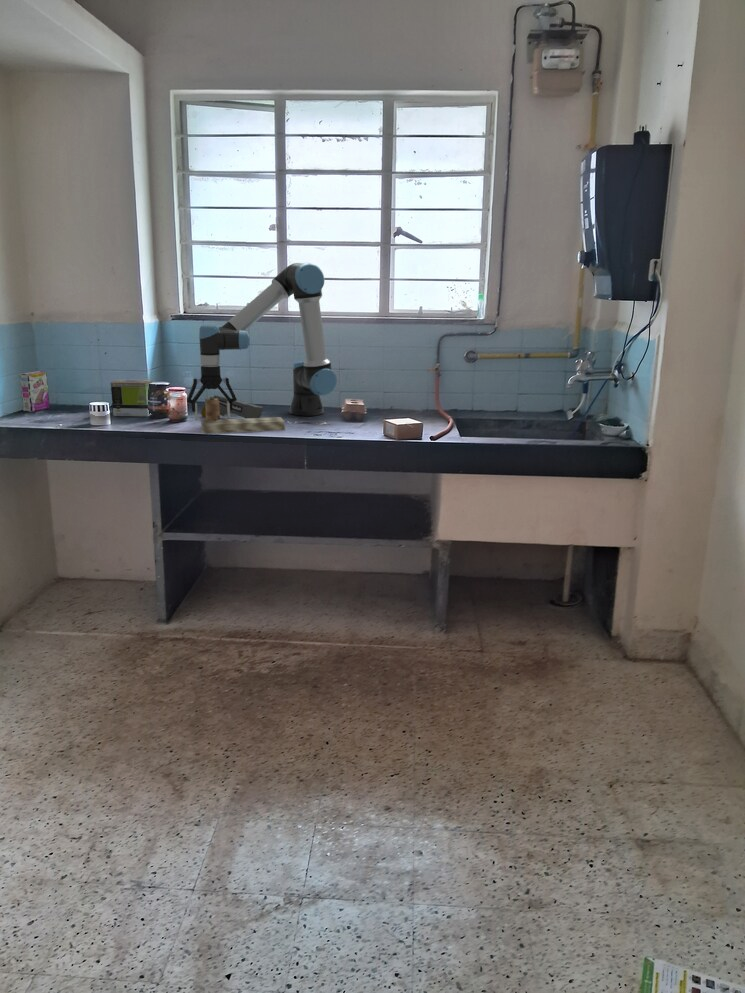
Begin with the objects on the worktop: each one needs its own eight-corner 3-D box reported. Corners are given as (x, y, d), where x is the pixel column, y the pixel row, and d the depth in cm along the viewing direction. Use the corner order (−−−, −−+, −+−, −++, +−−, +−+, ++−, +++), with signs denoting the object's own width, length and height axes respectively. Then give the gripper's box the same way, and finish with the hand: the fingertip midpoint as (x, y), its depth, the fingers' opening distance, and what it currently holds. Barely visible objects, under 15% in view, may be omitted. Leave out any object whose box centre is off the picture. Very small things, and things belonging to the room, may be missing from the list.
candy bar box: (32, 412, 315) (27, 374, 310) (23, 411, 316) (18, 373, 311) (50, 408, 325) (46, 371, 320) (41, 407, 327) (37, 370, 322)
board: (280, 425, 302) (280, 417, 301) (284, 429, 293) (284, 421, 292) (201, 428, 292) (200, 420, 291) (203, 433, 284) (203, 424, 283)
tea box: (154, 413, 321) (152, 379, 317) (147, 417, 311) (145, 382, 307) (120, 412, 321) (118, 378, 317) (112, 416, 312) (109, 381, 307)
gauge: (218, 425, 300) (217, 396, 296) (222, 431, 288) (221, 401, 285) (206, 425, 298) (204, 396, 294) (209, 432, 287) (208, 401, 283)
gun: (250, 440, 313) (262, 408, 308) (198, 416, 314) (209, 384, 309) (252, 438, 316) (264, 407, 311) (201, 414, 317) (212, 383, 312)
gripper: (239, 363, 296) (241, 416, 303) (178, 364, 289) (181, 418, 295) (242, 366, 289) (244, 419, 296) (179, 367, 282) (182, 422, 288)
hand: (212, 419), depth 295 cm, fingers open, 12 cm apart
